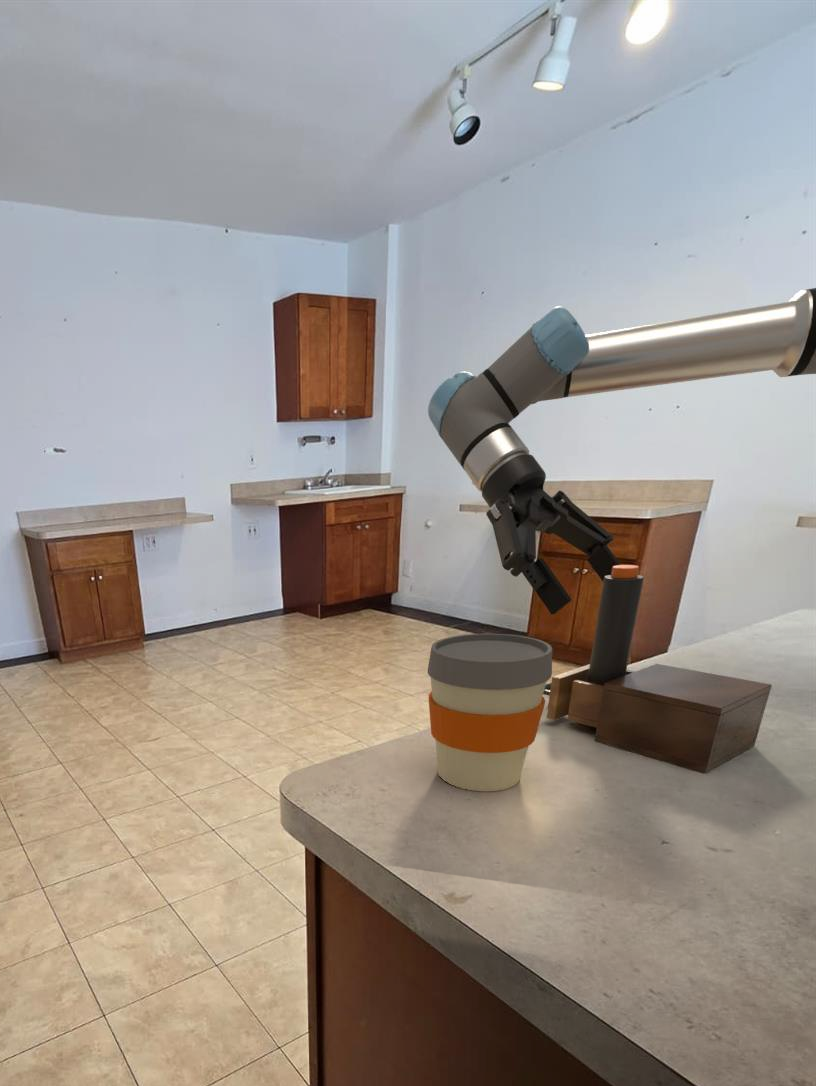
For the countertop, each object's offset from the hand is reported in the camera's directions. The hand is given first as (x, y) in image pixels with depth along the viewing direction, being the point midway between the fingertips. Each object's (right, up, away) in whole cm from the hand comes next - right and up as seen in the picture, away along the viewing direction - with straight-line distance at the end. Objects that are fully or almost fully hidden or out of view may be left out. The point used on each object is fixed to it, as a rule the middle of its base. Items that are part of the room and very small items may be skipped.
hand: (594, 599), depth 81 cm
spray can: (+3, -14, +3) cm, 14 cm away
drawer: (+3, -15, +4) cm, 15 cm away
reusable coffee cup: (-17, -22, -7) cm, 29 cm away
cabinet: (+8, -18, -3) cm, 20 cm away
